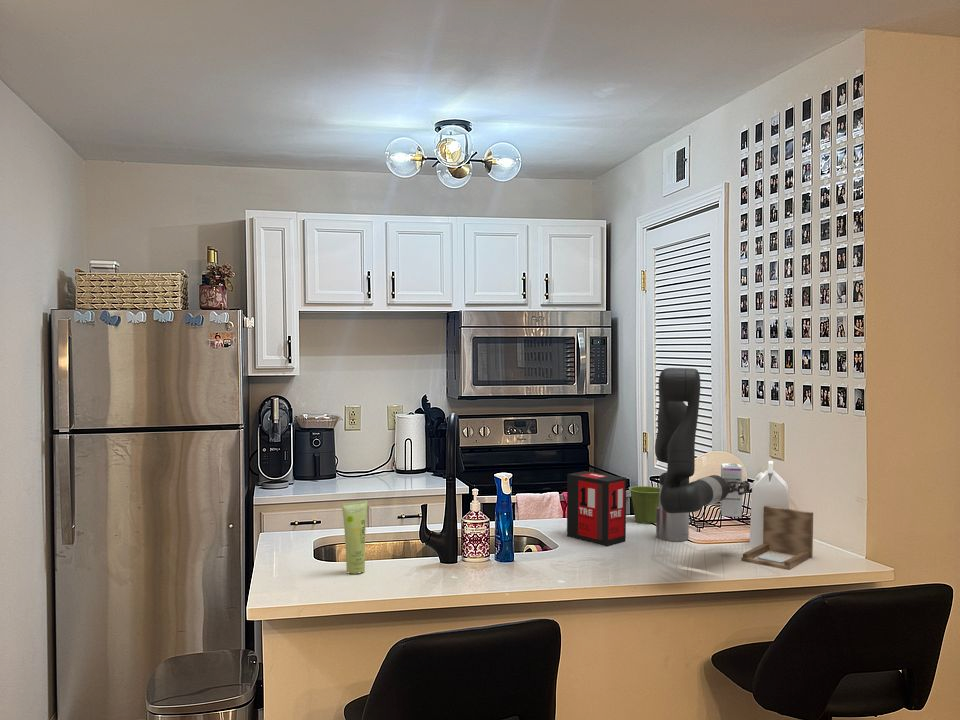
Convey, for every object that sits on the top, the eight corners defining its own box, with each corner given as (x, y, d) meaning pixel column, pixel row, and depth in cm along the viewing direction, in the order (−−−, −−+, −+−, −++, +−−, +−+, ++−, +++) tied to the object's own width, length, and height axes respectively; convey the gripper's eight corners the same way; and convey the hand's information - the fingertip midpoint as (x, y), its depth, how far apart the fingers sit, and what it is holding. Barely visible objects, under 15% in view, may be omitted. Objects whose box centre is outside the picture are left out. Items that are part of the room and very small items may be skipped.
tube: (359, 576, 231) (358, 504, 230) (342, 574, 232) (341, 503, 231) (368, 570, 236) (367, 500, 235) (351, 568, 237) (350, 498, 237)
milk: (789, 553, 253) (791, 466, 252) (749, 550, 257) (750, 464, 256) (789, 543, 265) (790, 460, 264) (750, 540, 269) (751, 458, 267)
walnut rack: (740, 564, 242) (741, 515, 241) (764, 552, 255) (765, 505, 254) (789, 574, 233) (790, 523, 232) (812, 560, 246) (813, 512, 245)
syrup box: (742, 517, 244) (743, 466, 244) (720, 516, 245) (722, 465, 245) (740, 513, 250) (741, 463, 249) (719, 511, 251) (720, 462, 250)
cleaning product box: (625, 541, 267) (626, 478, 266) (607, 546, 261) (607, 481, 260) (585, 531, 279) (585, 471, 278) (566, 536, 273) (567, 474, 272)
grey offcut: (757, 560, 242) (757, 557, 242) (764, 557, 245) (764, 554, 245) (780, 565, 237) (781, 562, 237) (788, 563, 240) (788, 559, 240)
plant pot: (667, 525, 288) (667, 492, 287) (632, 525, 288) (632, 492, 287) (659, 517, 300) (659, 485, 299) (625, 517, 299) (625, 485, 299)
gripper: (733, 480, 231) (758, 472, 244) (685, 473, 241) (710, 467, 253) (733, 507, 232) (757, 498, 244) (684, 500, 241) (710, 492, 253)
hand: (733, 482), depth 249 cm, fingers closed on syrup box, 7 cm apart
